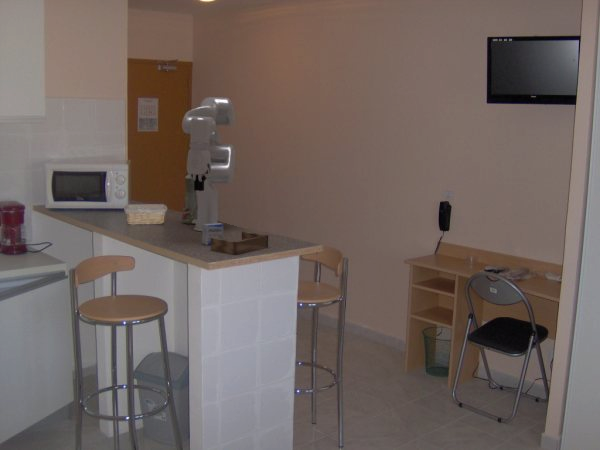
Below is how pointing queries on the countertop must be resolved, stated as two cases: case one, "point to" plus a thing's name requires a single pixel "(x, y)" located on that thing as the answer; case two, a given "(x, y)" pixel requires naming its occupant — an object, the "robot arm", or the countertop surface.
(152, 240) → the countertop surface
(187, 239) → the countertop surface
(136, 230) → the countertop surface
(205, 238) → the medicine box
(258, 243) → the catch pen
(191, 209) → the bottle
